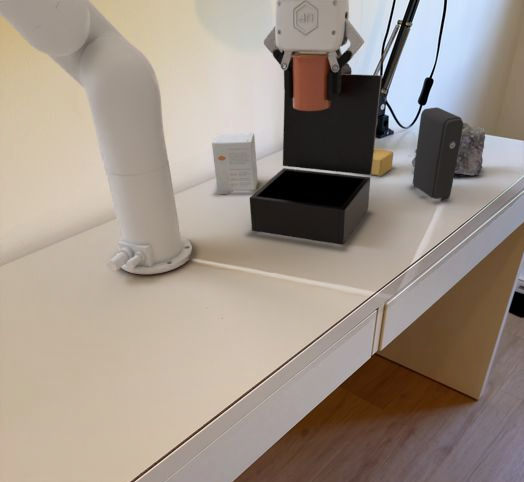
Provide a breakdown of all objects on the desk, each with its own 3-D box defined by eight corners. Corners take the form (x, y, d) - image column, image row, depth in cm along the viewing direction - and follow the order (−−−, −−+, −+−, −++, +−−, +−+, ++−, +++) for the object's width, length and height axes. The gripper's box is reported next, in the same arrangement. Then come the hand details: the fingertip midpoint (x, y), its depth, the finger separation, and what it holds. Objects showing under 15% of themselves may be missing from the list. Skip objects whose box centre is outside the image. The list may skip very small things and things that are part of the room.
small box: (258, 183, 112) (255, 132, 106) (255, 194, 108) (252, 141, 101) (221, 184, 113) (216, 133, 107) (217, 194, 109) (211, 142, 102)
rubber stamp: (392, 168, 115) (398, 109, 108) (380, 176, 112) (385, 117, 104) (352, 161, 120) (355, 104, 113) (339, 169, 117) (341, 111, 109)
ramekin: (324, 113, 80) (326, 56, 75) (284, 110, 82) (283, 55, 78) (338, 102, 85) (340, 48, 80) (300, 99, 87) (300, 47, 82)
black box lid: (380, 75, 85) (387, 74, 88) (284, 72, 91) (294, 70, 94) (370, 175, 93) (376, 170, 96) (282, 165, 99) (291, 161, 102)
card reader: (453, 200, 100) (468, 117, 91) (434, 204, 99) (447, 120, 90) (428, 184, 107) (439, 105, 98) (410, 187, 106) (420, 108, 97)
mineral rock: (408, 174, 112) (414, 124, 106) (430, 159, 118) (436, 111, 112) (467, 185, 105) (477, 133, 99) (487, 169, 112) (497, 119, 106)
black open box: (343, 249, 87) (344, 210, 83) (252, 235, 93) (249, 197, 89) (367, 213, 98) (370, 177, 93) (284, 202, 104) (283, 167, 99)
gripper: (244, -42, 72) (252, 100, 83) (367, -47, 66) (358, 107, 77) (267, -44, 77) (271, 89, 88) (383, -50, 71) (372, 95, 82)
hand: (312, 96), depth 83 cm, fingers closed on ramekin, 6 cm apart
